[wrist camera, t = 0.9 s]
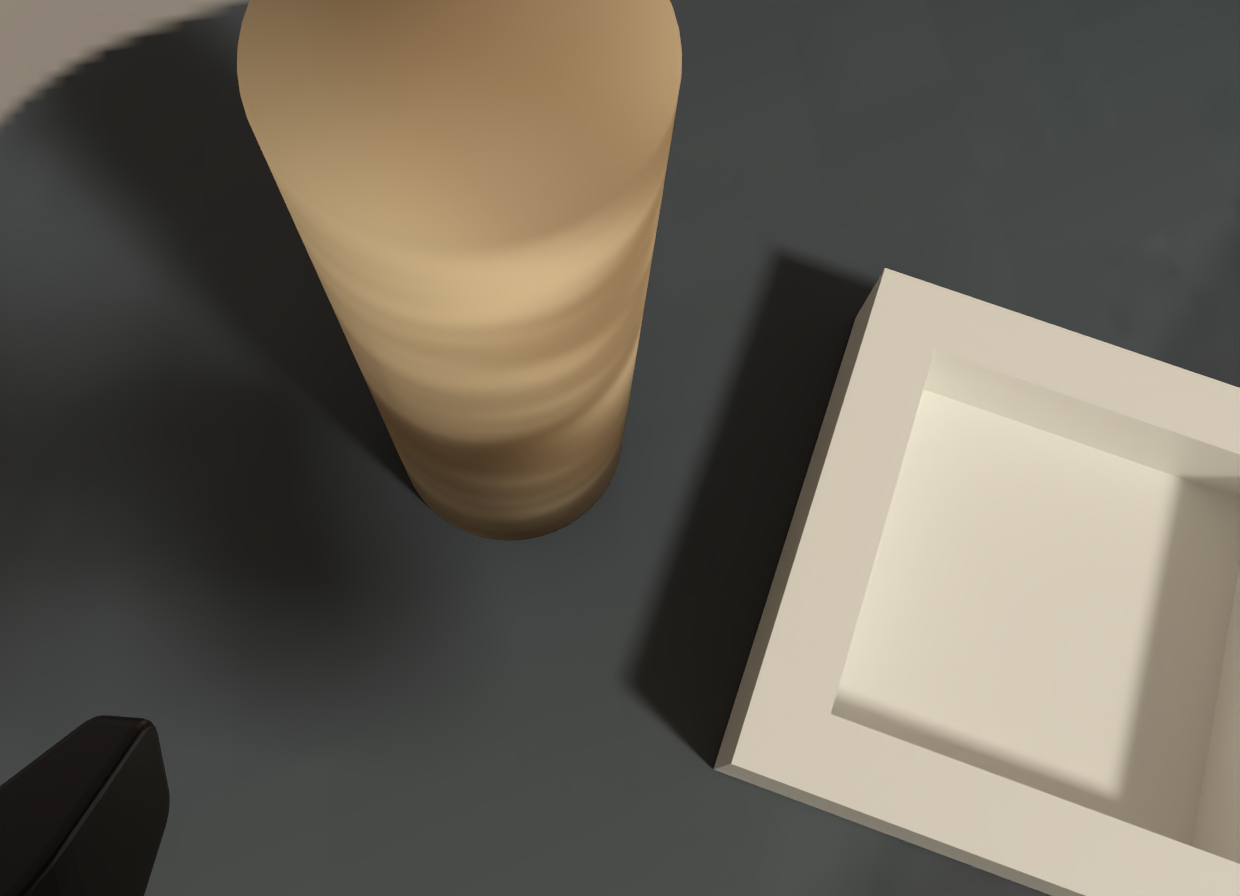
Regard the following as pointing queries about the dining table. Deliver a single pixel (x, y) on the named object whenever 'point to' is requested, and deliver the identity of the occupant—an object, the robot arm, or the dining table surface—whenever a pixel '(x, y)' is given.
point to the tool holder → (1011, 605)
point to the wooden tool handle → (478, 224)
